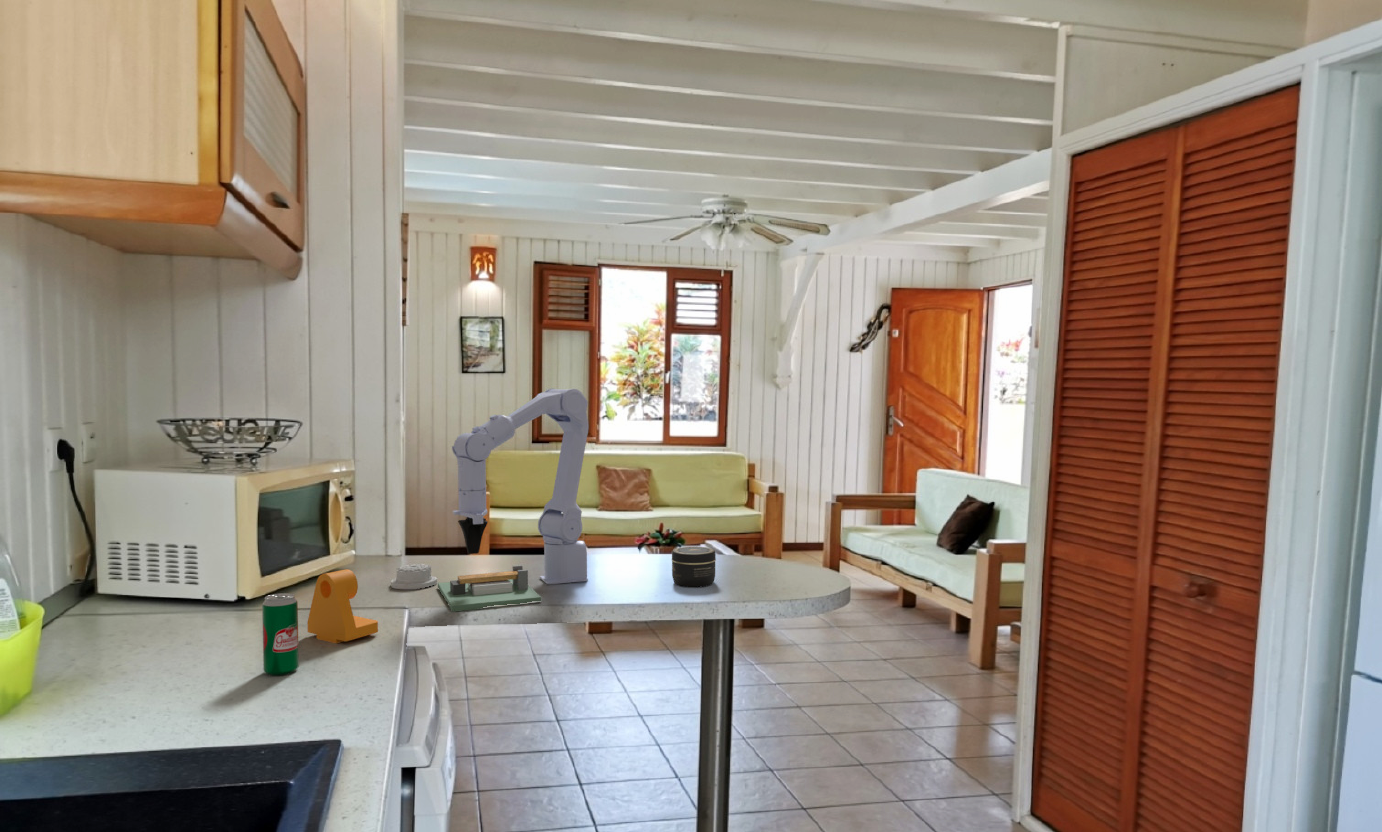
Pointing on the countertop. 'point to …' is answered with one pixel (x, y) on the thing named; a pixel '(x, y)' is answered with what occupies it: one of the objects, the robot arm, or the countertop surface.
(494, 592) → the board
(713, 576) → the jar
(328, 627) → the bracket
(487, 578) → the orange brown flat bar
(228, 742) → the countertop surface
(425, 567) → the mechanical component
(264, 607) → the soda can
